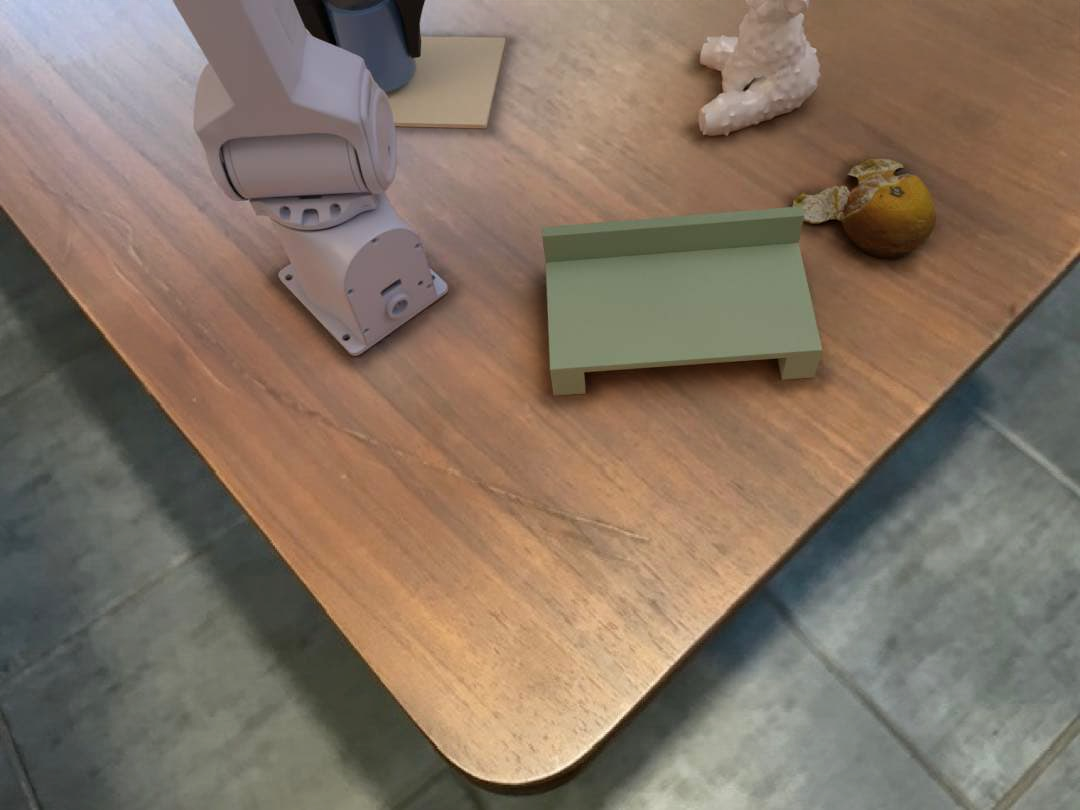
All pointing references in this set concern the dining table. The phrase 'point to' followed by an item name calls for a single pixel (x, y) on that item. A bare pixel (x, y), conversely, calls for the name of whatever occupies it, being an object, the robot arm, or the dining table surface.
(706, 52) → the seated beast figurine
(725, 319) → the shelf
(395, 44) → the cup
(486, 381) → the dining table surface
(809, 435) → the dining table surface
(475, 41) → the mat
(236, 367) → the dining table surface
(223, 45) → the robot arm
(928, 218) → the fruit
